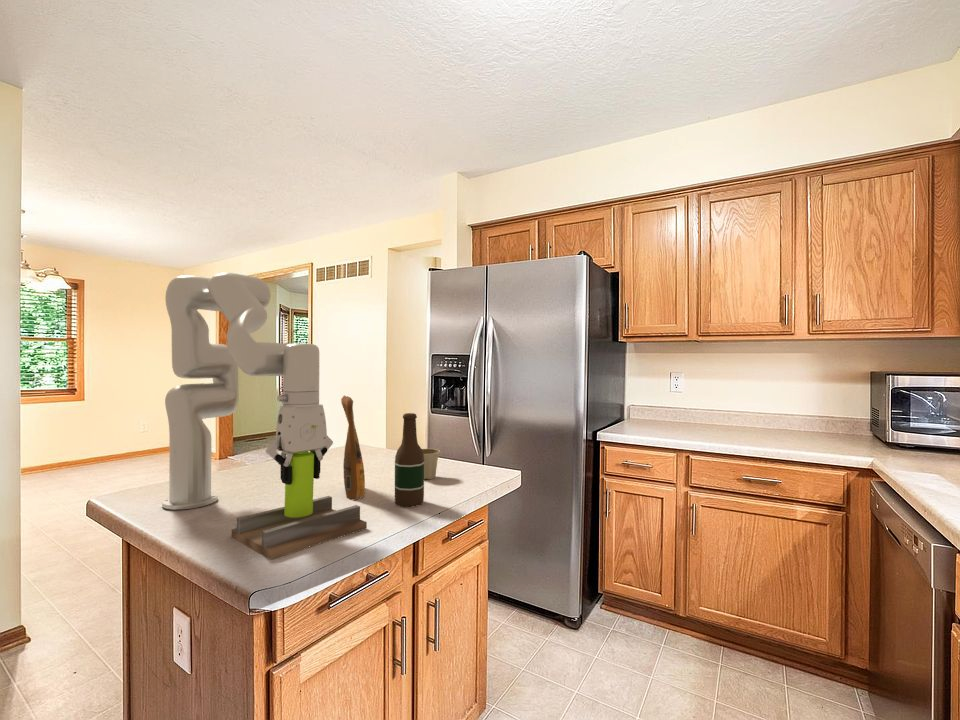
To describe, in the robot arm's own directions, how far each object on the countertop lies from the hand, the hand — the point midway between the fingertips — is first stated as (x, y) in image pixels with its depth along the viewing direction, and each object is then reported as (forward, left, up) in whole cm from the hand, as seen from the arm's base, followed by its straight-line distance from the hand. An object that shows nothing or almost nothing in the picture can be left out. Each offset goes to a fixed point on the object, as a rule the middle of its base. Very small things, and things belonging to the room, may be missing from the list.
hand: (300, 479), depth 104 cm
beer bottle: (+2, +30, -12) cm, 32 cm away
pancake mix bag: (-18, +26, -12) cm, 34 cm away
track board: (0, 0, -12) cm, 12 cm away
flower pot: (-15, +52, -12) cm, 55 cm away
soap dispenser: (0, 0, -8) cm, 8 cm away
